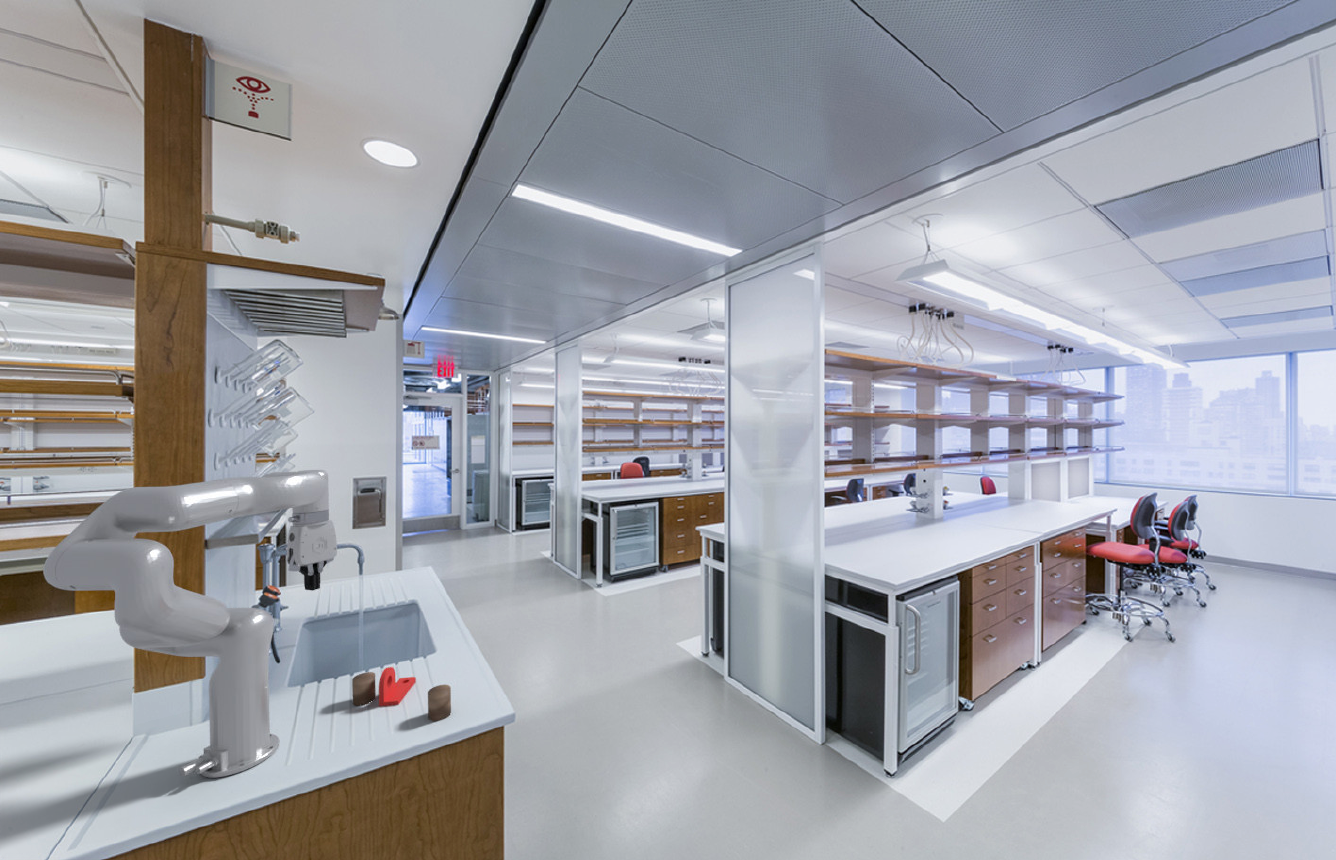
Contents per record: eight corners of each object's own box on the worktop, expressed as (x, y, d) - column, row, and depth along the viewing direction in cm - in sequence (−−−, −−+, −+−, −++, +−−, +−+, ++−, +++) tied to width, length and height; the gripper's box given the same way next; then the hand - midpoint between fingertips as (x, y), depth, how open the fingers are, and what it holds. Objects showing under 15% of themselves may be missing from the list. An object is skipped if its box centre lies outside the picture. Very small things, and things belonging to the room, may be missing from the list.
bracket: (398, 705, 121) (397, 674, 121) (379, 707, 120) (378, 675, 120) (417, 680, 132) (416, 652, 132) (399, 682, 132) (399, 653, 132)
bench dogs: (440, 722, 113) (439, 697, 113) (347, 704, 121) (347, 680, 121) (455, 710, 117) (455, 686, 117) (365, 693, 126) (365, 671, 126)
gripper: (291, 524, 115) (292, 600, 114) (349, 513, 129) (350, 581, 129) (269, 523, 117) (270, 597, 117) (328, 512, 131) (329, 579, 131)
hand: (312, 589), depth 123 cm, fingers closed
